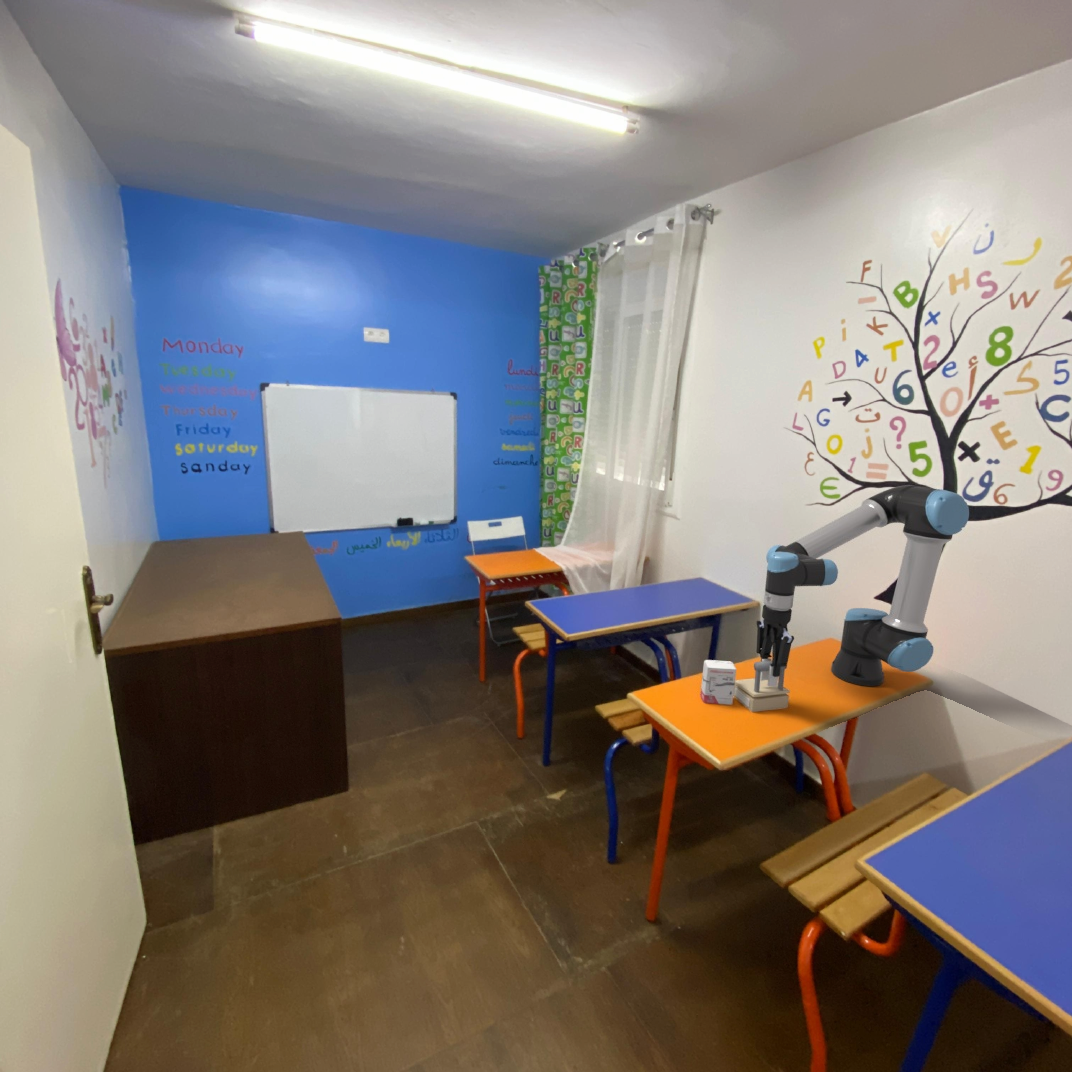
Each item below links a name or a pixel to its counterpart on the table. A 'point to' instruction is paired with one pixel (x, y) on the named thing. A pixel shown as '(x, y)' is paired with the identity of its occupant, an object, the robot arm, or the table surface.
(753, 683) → the flap
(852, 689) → the table surface
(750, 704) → the carton
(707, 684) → the ink box
